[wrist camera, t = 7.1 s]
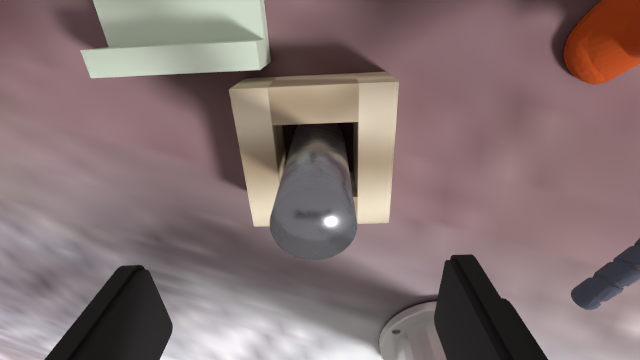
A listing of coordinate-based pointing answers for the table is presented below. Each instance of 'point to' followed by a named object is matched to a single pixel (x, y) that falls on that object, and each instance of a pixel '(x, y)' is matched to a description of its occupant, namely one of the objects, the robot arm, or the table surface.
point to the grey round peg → (315, 195)
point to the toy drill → (598, 67)
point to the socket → (312, 108)
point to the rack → (179, 37)
